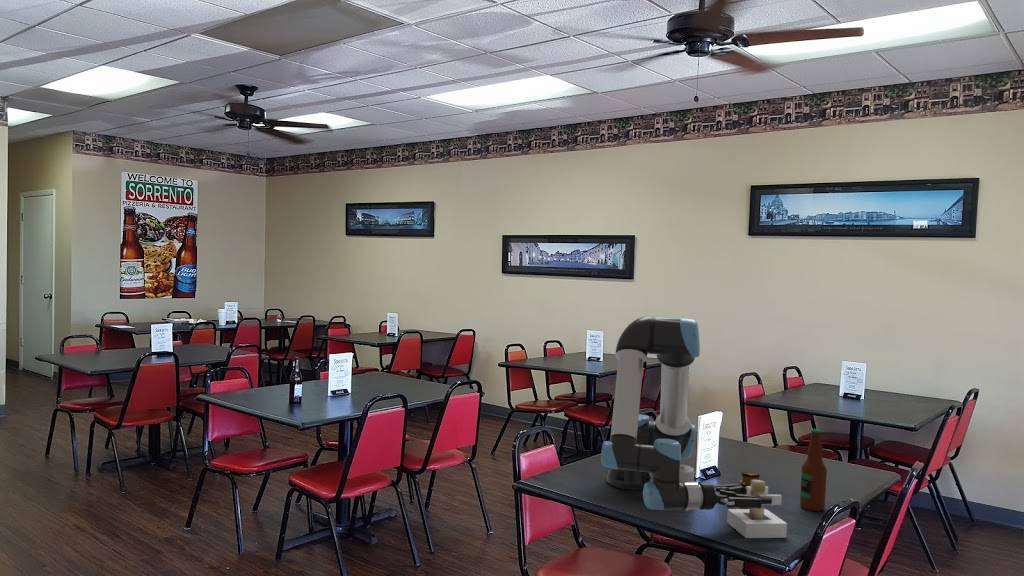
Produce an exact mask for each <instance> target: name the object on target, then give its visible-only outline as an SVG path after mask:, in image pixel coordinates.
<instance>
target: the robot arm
mask: <svg viewBox="0 0 1024 576" xmlns="http://www.w3.org/2000/svg"><path fill="white" fill-rule="evenodd" d="M700 347H701V345H700V332H699V324H698V322H697V321H696V320H695V319H693V318H684V317H680V318H679V317H662V316H650V315H648V316H646V315H645V316H642V317H638V318H637V319H635V320H633V321H632V322H631V323H630V324H628V325H627V327H625V328H624V330H623V332H622V333H621V335H620V336H619V338H618V341H617V344H616V348H615V359H616V360H617V367H616V368H617V370H616V371H617V372H616V379H615V388H614V389H615V391H614V399H613V401H614V402H613V410H612V419H611V430H610V439H609V440H604V441H603V442H602V444H601V445H602V446H601V452H600V453H601V455H600V461H601V462H600V463H601V466H603V467H604V468H608V472H607V475H606V482H608V483H609V484H608V483H607V484H608V485H610V486H612V487H614V486H615V487H614V488H617V489H622V490H623V489H624V490H631V491H632V490H633V491H637V490H638V491H639V490H642V498H643V503H644V505H645V507H646V508H647V509H649V510H654V511H655V510H656V511H657V510H658V511H659V510H660V511H676V510H684V511H686V512H690V511H691V510H702V511H703V510H705V511H707V510H708V511H709V510H713V509H714V508H715V506H716V505H717V504H719V505H721V506H722V505H723V506H725V505H726V508H728V509H734V508H739V507H742V508H758V509H760V508H762V505H764V506H782V498H783V495H782V494H769V486H765V495H759V496H753V495H750V490H751V486H746V487H745V483H742V486H740V483H726V484H722V483H721V484H713V483H711V482H710V481H698V482H697V481H694V482H680V466H681V465H682V464H681V462H682V459H685V460H686V459H689V458H690V457H691V456H692V453H693V449H694V442H695V438H696V425H695V424H693V423H692V422H691V419H690V418H689V417H688V416H687V415H688V399H689V398H688V397H689V396H688V395H689V382H690V381H689V378H690V366H691V365H692V364H693V363H694V361H695V358H699V357H700V354H701V353H700V352H701V351H700V350H701V349H700ZM648 355H656V360H657V361H658V362H659V363H660V364H661V365H660V367H661V369H660V373H661V374H660V403H659V404H660V405H659V406H660V410H659V411H660V413H659V415H657V417H656V419H655V420H651V418H650V416H649V415H647V414H641V413H640V403H641V395H642V393H641V392H642V380H643V370H644V369H643V368H644V363H645V362H646V361H647V360H648ZM745 493H746V495H745Z"/></svg>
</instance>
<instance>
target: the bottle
mask: <svg viewBox="0 0 1024 576" xmlns="http://www.w3.org/2000/svg"><path fill="white" fill-rule="evenodd" d="M822 431H823V430H821V429H817V428H811V429H810V432H811V433H810V441H809V443H808V448H807V458H806V460H805V461H804V462H803V464H802V466H801V477H800V493H799V494H800V495H799V496H800V497H799V498H800V499H799V505H800V506H801V508H803V509H804V510H807V511H811V512H822V511H824V509H825V507H826V491H827V490H826V489H827V474H828V473H827V471H828V469H827V467H826V465H825V463H824V461H823V444H822V439H821V438H822V433H823V432H822Z"/></svg>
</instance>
